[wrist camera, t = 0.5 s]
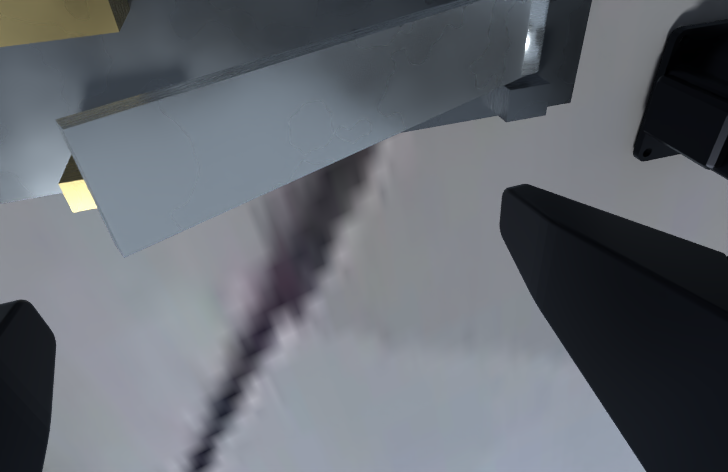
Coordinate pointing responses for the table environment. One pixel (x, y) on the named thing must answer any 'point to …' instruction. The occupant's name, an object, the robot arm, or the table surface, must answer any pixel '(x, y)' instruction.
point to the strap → (290, 113)
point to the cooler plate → (199, 65)
